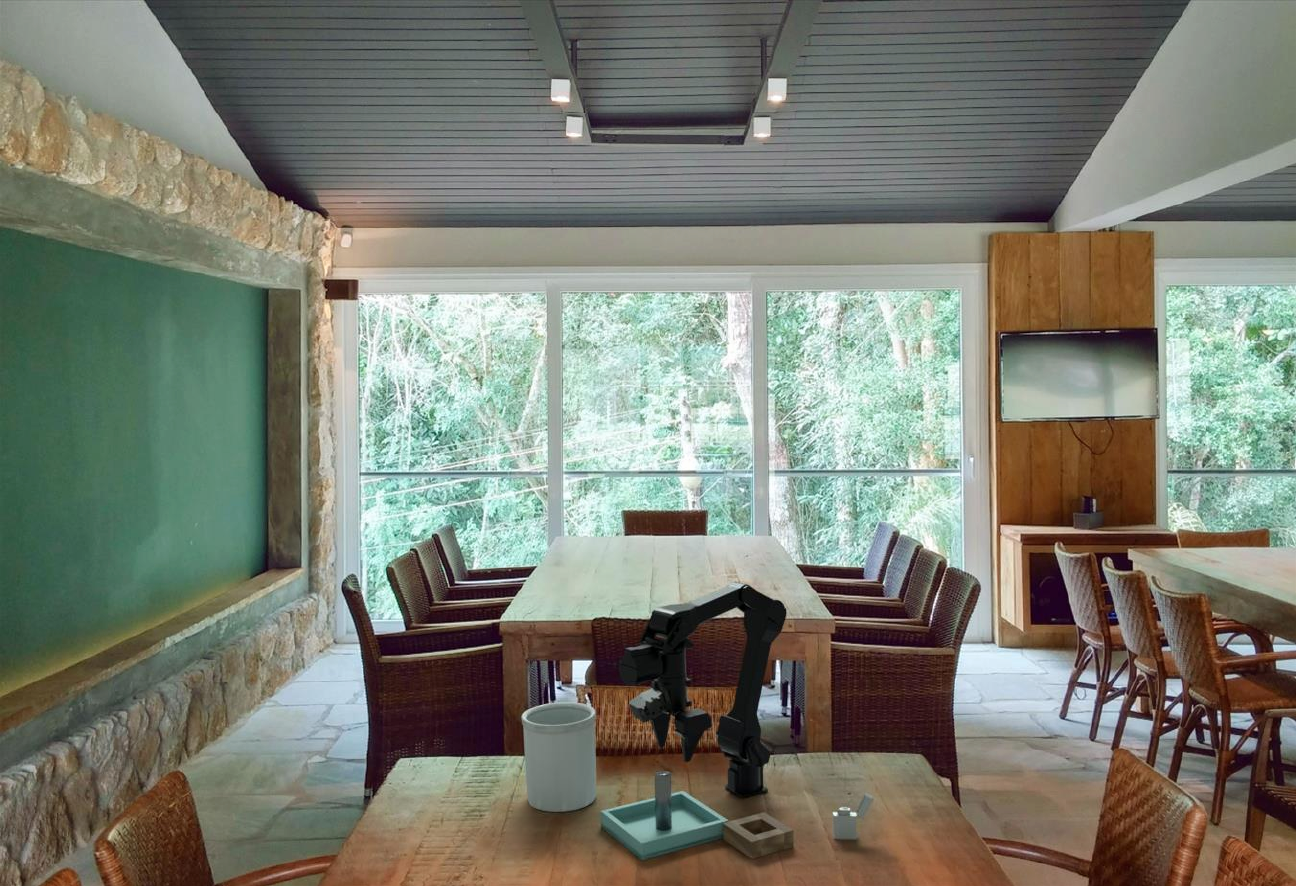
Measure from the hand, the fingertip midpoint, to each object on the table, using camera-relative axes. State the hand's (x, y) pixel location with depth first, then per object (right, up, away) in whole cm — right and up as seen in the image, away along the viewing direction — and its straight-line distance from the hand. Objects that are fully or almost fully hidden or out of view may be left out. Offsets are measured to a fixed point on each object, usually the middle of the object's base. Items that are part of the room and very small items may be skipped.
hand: (674, 754), depth 195 cm
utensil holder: (-22, -12, +9) cm, 27 cm away
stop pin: (-2, -11, -7) cm, 13 cm away
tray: (-2, -12, -7) cm, 14 cm away
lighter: (+32, -12, -11) cm, 36 cm away
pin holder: (+15, -12, -12) cm, 23 cm away
